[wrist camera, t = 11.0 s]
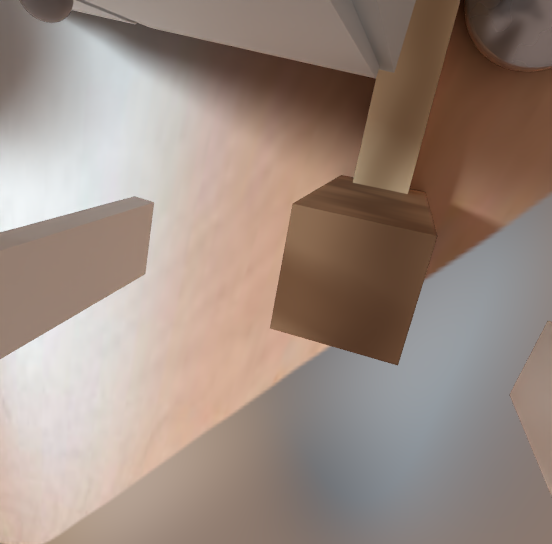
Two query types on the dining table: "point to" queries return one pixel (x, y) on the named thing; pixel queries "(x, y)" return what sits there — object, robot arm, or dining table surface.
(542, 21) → the steel puck
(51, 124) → the dining table surface
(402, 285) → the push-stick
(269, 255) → the dining table surface
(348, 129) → the dining table surface
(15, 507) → the dining table surface
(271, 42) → the cabinet
